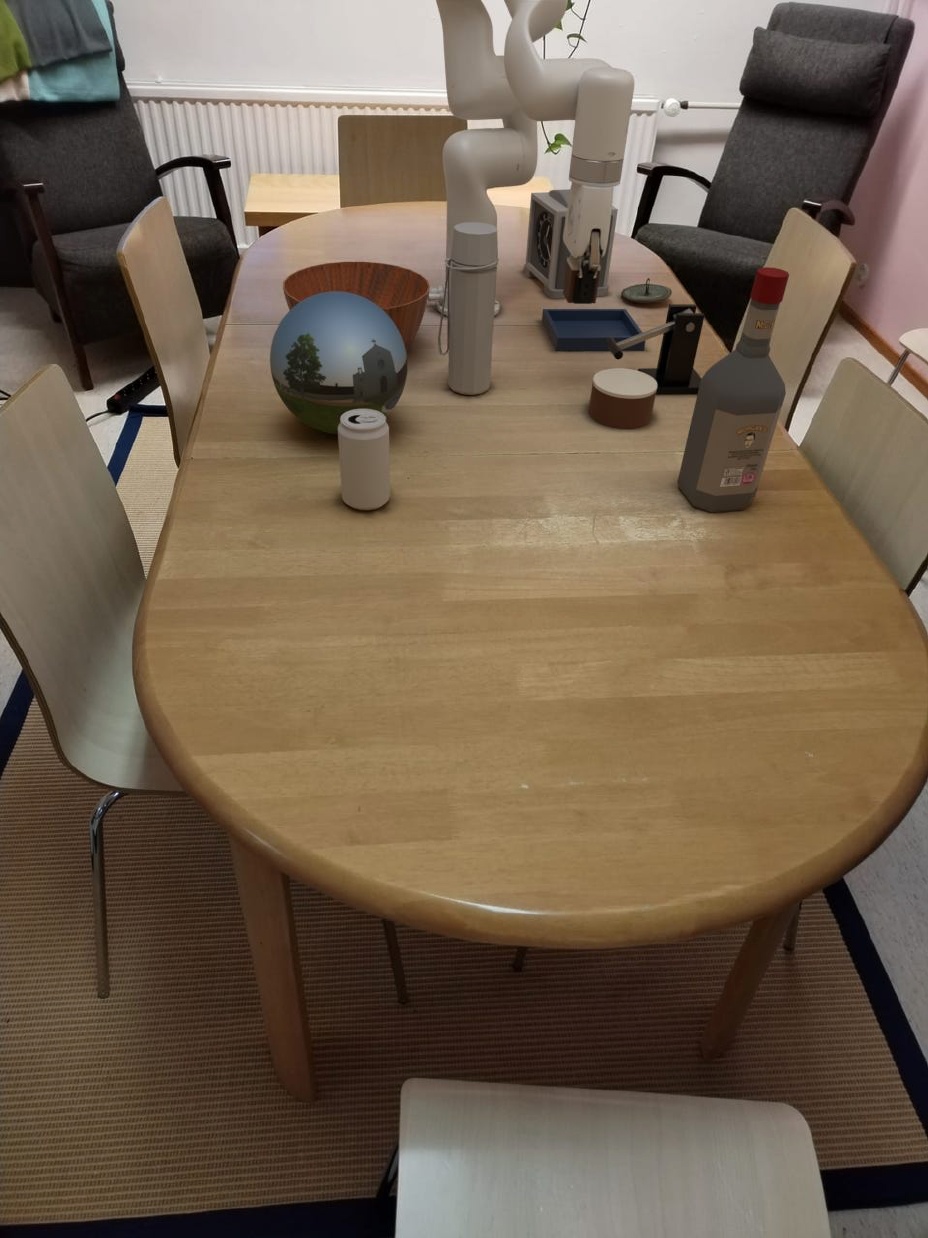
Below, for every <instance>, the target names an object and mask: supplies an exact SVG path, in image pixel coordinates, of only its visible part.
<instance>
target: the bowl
mask: <svg viewBox="0 0 928 1238" xmlns="http://www.w3.org/2000/svg"><path fill="white" fill-rule="evenodd" d="M430 287H431V286H430V283H429V279H427V278H425V276H423V275H422V274H420V273H418V272H416V271H414V270H412V269H410V268H406V267H402V266H399V265H395V264H389V263H383V262H376V261H375V262H374V261H337V262H325V263H321V264H316V265H310V266H308V267H305V268H302V269H299V270H296V271H295V272H293V273H291V274H289V275H287V277H286V278H284V280H283V282H282V290H283V295H284V297H285V298H284V299H285V301H286V305H287V307H288V312H289V311H290V310H291V309H292V308H293V307H294V306H295V305H297V304H298V303H300V302H301V301H303V300H304V299H306V298H308V297H311V296H313V295H316V294H319V293H324V292H332V291H340V292H348V293H352V294H356V295H359V296H362V297H364V298H366V299H368V300H370V301H371V302H373V303H375V304H376V305H377V306H379V307H380V308H381V309H382V310H383V311H384V312H385V313H386V314H387V315H388V316H389V317H390V318H391V319H392V321H393V322H394V324H395V325H396V327H397V328H398V330H399V332H400V334H401V337H402V339H403V342H404V345H405V349H406V352H407V351H408V350H409V349H410V348H411V346H412V345H413V343H414V342H415V339H416V338H417V337H416V336H417V334H418V332H419V330H420V327H421V324H422V321H423V319H424V315H425V312H426V308H427V305H428V301H429V298H428V295H429V290H430Z"/></svg>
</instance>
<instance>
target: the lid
mask: <svg viewBox="0 0 928 1238" xmlns="http://www.w3.org/2000/svg"><path fill="white" fill-rule="evenodd" d="M650 281H651V279H650V278H649V277H648V278H647V279H646V280H645V283H639V284H634V285H630V286H627V287H626V288H624V289H622V290H621V293H620V295H621V297H622V298H624V299H626V300H627V301H628V302H632V303H638V304H650V303H657V302H662V301H664V300H667V299H669V298H670V297H671V296H672V294H673V291H672V289H671V288H670V287H667V286H665V285H660V284H654V283H650Z"/></svg>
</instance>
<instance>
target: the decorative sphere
mask: <svg viewBox="0 0 928 1238" xmlns="http://www.w3.org/2000/svg"><path fill="white" fill-rule="evenodd" d="M407 355H408V354H407V351H406V349H405V345H404V342H403V339H402V337H401V334H400V332H399V330H398V328H397V327H396V325H395V324H394V322H393V321H392V319H391V318H390V317H389V316H388V315H387V314H386V313H385V312H384V311H383V310H382V309H381V308H380V307H379V306H377V305H376V304H375V303H373V302H371V301H370V300H368V299H366V298H364V297H362V296H359V295H356V294H352V293H348V292H340V291H332V292H324V293H319V294H316V295H313V296H311V297H308V298H306V299H304V300H303V301H301V302H300V303H298V304H297V305H295V306H294V307H293V308H292V309H291V310H290V311H289V310H288V312H287V313H286V314H285V315H284V317H282V319H281V321H280V322H279V324H278V326H277V328H276V329H275V332H274V335H273V338H272V341H271V345H270V352H269V367H270V374H271V378H272V381H273V382H272V383H273V386H274V388H275V391H276V393H277V395H278V396H279V398H280V400H281V402H282V403H283V404H284V406H285V407H286V408H287V410H288V411H289V412H291V414H292V415H293V416H294V417H296V418H297V419H298V420H299V421H301V422H302V423H304V424H305V425H307V426H309V427H311V428H313V429H315V430H317V431H321V432H323V433H327V434H334V435H338V425H339V424H340V418H341V416H342V415H343V414H344V413H345V412H347V411H350V410H354V409H372V410H376V411H379V412H381V413H382V414H384V416H385V417H386V418H387V416H388V415H389V414H390V413H391V412H392V411H393V410H394V408H395V407H396V406H397V404H398V403H399V400H400V399H401V397H402V394H403V392H404V389H405V386H406V382H407V377H408V356H407Z"/></svg>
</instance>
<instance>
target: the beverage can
mask: <svg viewBox="0 0 928 1238" xmlns="http://www.w3.org/2000/svg"><path fill="white" fill-rule="evenodd" d="M337 441H338V456H339V473H340V488H341V489H340V490H341V492H340V493H341V498H342V501H343V502H344V503H345V504H346V505H347V506H349V507H351V508H353V509H355V510H359V511H372V510H373V511H374V510H377V509H380V508H381V507H383V506H384V505H385V504H386V503H387V502H389V500H390V498H391V473H390V472H391V470H390V469H391V467H390V462H391V461H390V426H389V424H388V422H387V416H386V417H385V416H384V414H382V413H381V412H379V411H376V410H372V409H354V410H350V411H347V412H345V413H344V414H343V415H342V416H341V418H340V424H339V425H338V434H337Z"/></svg>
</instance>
